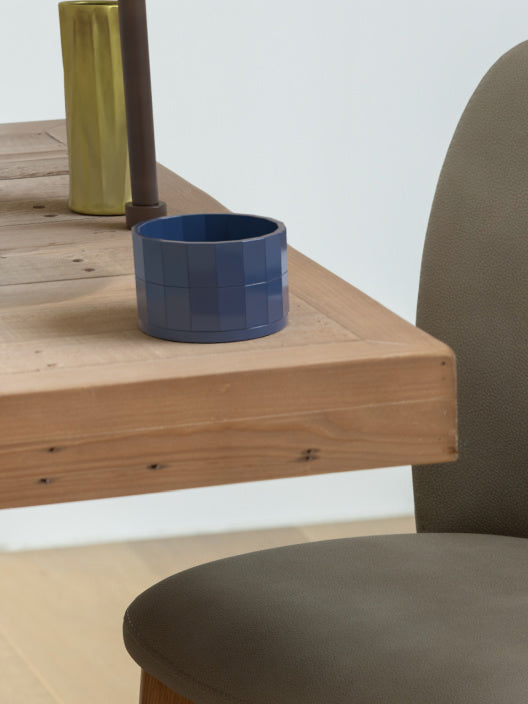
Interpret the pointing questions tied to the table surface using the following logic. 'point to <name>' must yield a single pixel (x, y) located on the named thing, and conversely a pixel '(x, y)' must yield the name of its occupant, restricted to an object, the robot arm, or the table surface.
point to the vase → (94, 107)
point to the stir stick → (139, 114)
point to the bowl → (211, 276)
